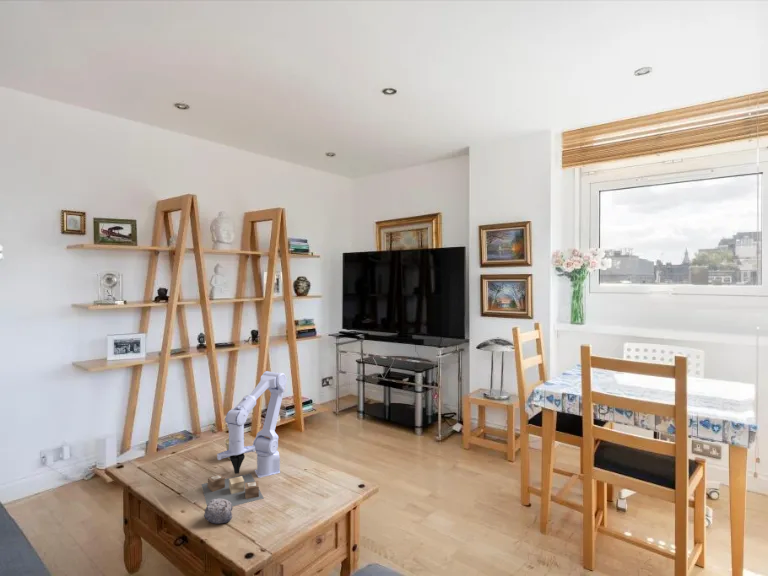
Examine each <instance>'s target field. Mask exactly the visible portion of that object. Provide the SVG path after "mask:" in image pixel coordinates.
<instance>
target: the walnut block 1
mask: <svg viewBox="0 0 768 576" xmlns="http://www.w3.org/2000/svg"><path fill="white" fill-rule="evenodd" d="M225 479H226V478H225V477H224V476H223V475H222V474H221V473H218V474H214V475H212V476H209V477H207V483H208V488H209V489H210V490H211V491H212V492H214V491H217V490H219V489H222V488H225Z"/></svg>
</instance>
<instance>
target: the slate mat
mask: <svg viewBox="0 0 768 576" xmlns="http://www.w3.org/2000/svg"><path fill="white" fill-rule="evenodd" d="M240 476H242V477H243V479H244V491H242V492H238V493H234V494H231V492H230V489H229V479H231V478H235V477H240ZM254 481H256V480H255V479H254V477H253V475H252V473H250V472H249V473H245V474H241V475H236V476H233V477H228V478H225V488H222V489H219V490H217V491H214V492H212V491H211V490H210V489H209V488H208V482H205V483H201V484H200V485H201V488H202V493H203V496H204V500H205V504H206V506H207V505H208V503H209V502H210V501H211V500H213V499H218V498H219V499H226V500H228V501H230V502H231V503H232V507H236V506H240V505H243V504H248V503H252V502H256V501H259V500H260V501H261V500H264V496H263V494H262V492H261V491H260V489H259V497H255V498H249V499H245V483H248V482H254Z"/></svg>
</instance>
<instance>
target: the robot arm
mask: <svg viewBox="0 0 768 576" xmlns="http://www.w3.org/2000/svg"><path fill="white" fill-rule="evenodd" d="M287 382H288V378H287V376H286V374H285V373H284V372H276V371H275V372H274V371H269V370H266V371H264V372H263V373H262V375H261V376H260V380H259V382H258V384H257V385H256V386H255V388H254V389H253V390H252V392H251V393H250V394H249V395H245V396H243V398H242V399H241V401H240V402H239V403H238V404H237V405H236V406H235V407H234V408H232V409H230V410H229V411H227V413H226V415H225V418H224V420H225V423H226V424H227V428H228V438H229V450H227V449H226V450H224V451H222V452H220V453H218V452H217V454H216V459H217V460H218V461H220V460H223V459H228V457H229V458H230V462H231V465H232V468H233V473H234V474H235V475H238V474H240V472H241V471H240V470H241V466H242V464H243V462H244V460H245V457H246V455H245V454H248V453H255V454H256V469H255V470H254V473H255V474H256V476H257V478H258V479H261V478H264V477H269V476H273V475H278V474H280V473H281V462H280V461H281V460H280V458H281V457H280V452H279V450H278V448H279V435H278V434H277V433H276V431H275V430H276V426H277V422H278V418H279V414H280V410H281V406H282V401H283V397H284V393H285V390H286V386H287ZM267 390H268V391H269V392H270V397H269V401H268V405H267V410H266V413H265V416H264V418H265V419H264V422H263V426H262V429H261V430H259V431H258V432H257V433H256V436H255V437H254V439H253V443H252V445H247V446H246V445H245V441H244V438H245V436H244V435H245V431H244V430H245V423H246V422H247V419H248V416H249V414H250V413H251V411H252V410H253V409H254V407H255V406H257V400H258V399H259V398H260V397H261V396H262V395H263V394H264V393H265V392H266V391H267Z"/></svg>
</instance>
